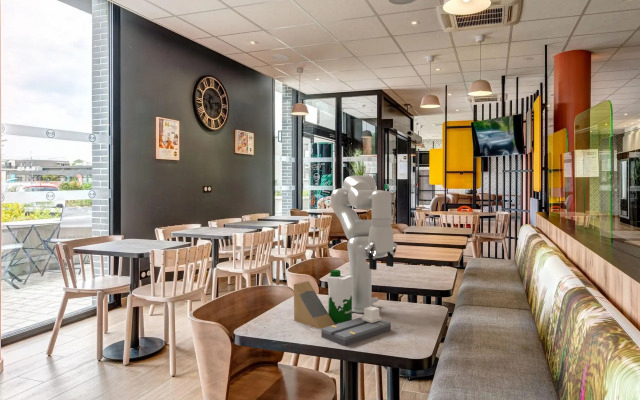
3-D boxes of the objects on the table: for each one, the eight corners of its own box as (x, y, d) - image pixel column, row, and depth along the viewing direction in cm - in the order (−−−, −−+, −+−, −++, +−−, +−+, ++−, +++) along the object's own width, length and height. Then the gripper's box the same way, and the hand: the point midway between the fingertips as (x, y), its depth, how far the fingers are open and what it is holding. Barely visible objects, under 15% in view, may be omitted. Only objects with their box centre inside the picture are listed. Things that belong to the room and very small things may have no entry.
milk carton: (335, 316, 188) (335, 268, 187) (355, 319, 183) (355, 270, 182) (324, 321, 181) (324, 271, 180) (344, 325, 176) (344, 274, 175)
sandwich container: (320, 329, 172) (320, 290, 171) (293, 321, 183) (293, 284, 182) (336, 324, 178) (335, 286, 177) (308, 316, 189) (308, 280, 188)
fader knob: (371, 319, 176) (371, 305, 175) (381, 322, 172) (381, 308, 172) (362, 322, 172) (362, 308, 172) (372, 325, 168) (372, 310, 168)
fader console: (367, 322, 179) (367, 315, 179) (390, 330, 170) (390, 322, 170) (321, 336, 163) (321, 328, 163) (344, 345, 154) (344, 336, 154)
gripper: (388, 221, 183) (388, 263, 183) (358, 223, 172) (358, 269, 172) (403, 222, 177) (403, 266, 178) (373, 225, 166) (373, 272, 166)
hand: (381, 267), depth 175 cm, fingers open, 9 cm apart
